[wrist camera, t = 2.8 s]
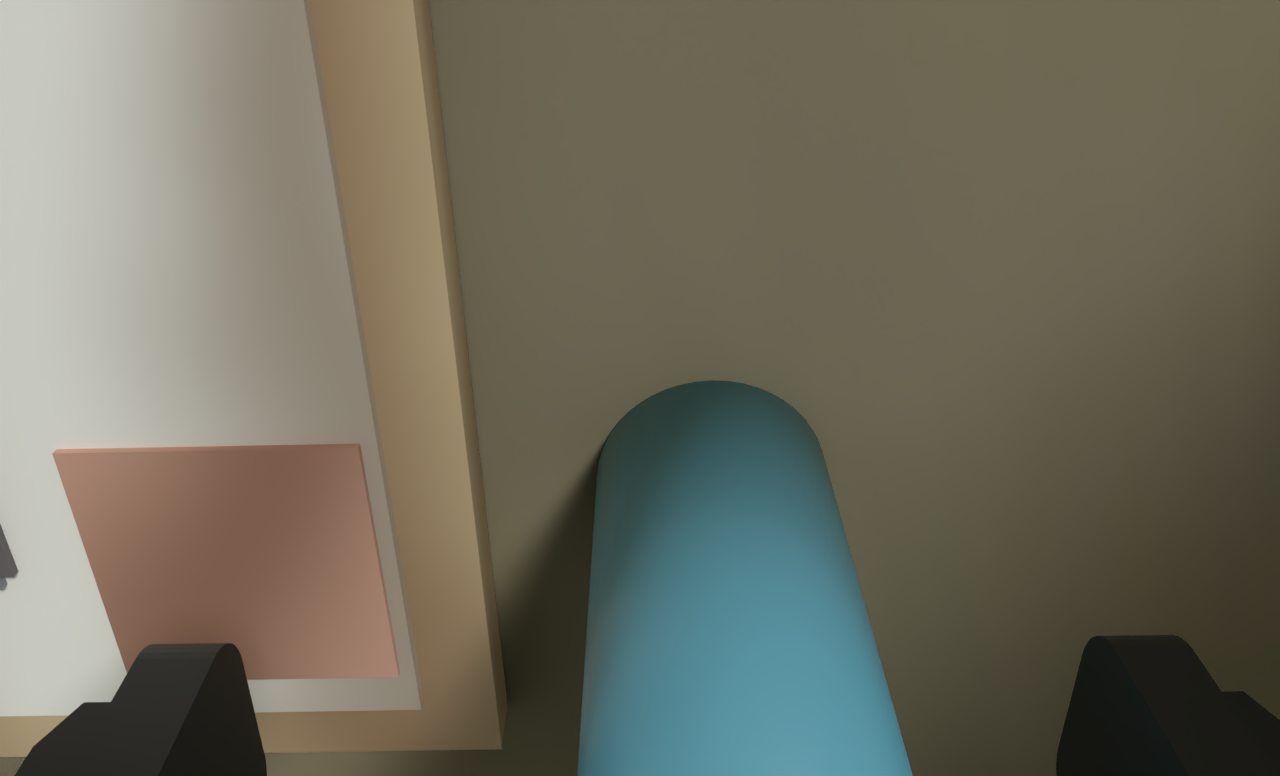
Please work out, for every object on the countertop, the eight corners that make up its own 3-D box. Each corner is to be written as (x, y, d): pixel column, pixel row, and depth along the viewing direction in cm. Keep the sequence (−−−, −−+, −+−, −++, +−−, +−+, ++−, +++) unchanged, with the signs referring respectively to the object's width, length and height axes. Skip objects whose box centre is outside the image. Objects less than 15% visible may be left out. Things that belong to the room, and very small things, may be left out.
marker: (836, 375, 13) (1159, 1319, 5) (822, 572, 15) (1049, 1549, 6) (587, 379, 13) (500, 1324, 5) (598, 575, 15) (543, 1552, 7)
